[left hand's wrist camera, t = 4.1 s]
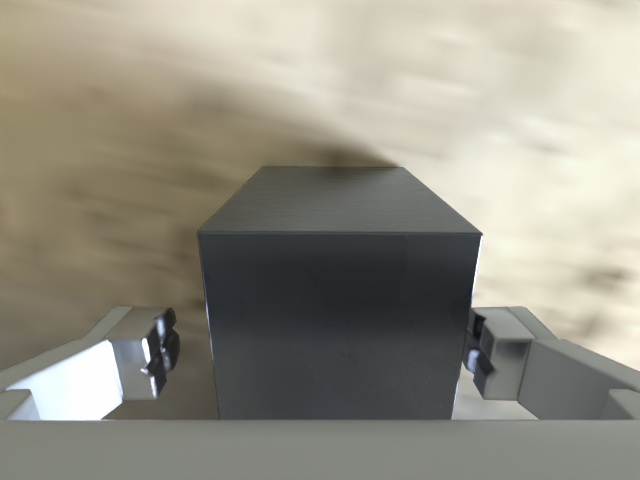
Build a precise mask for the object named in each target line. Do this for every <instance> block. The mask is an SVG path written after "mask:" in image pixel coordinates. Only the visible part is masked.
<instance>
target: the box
mask: <svg viewBox="0 0 640 480" xmlns="http://www.w3.org/2000/svg"><path fill="white" fill-rule="evenodd" d="M197 238H198V246H199V254H200V262H201V271H202V279H203V287H204V295H205V304H206V312H207V320H208V328H209V337H210V345H211V353H212V361H213V370H214V378H215V386H216V394H217V403H218V411H219V419H220V420H452V417H453V411H454V405H455V399H456V393H457V387H458V381H459V376H460V370H461V364H462V358H463V352H464V346H465V340H466V334H467V328H468V322H469V316H470V310H471V304H472V299H473V293H474V287H475V281H476V275H477V269H478V263H479V257H480V251H481V245H482V239H483V234H482V232H480V231H479V230H478V229H477V228H476V227H474V226H473V225H472V224H471V223H470V222H469V221H467V220H466V219H465V218H464V217H463V216H461V215H460V214H459V213H458V212H457V211H455V210H454V209H453V208H452V207H451V206H449V205H448V204H447V203H446V202H445V201H443V200H442V199H441V198H440V197H439V196H437V195H436V194H435V193H434V192H433V191H431V190H430V189H429V188H428V187H427V186H425V185H424V184H423V183H422V182H421V181H419V180H418V179H417V178H416V177H415V176H413V175H412V174H411V173H410V172H409V171H408V170H406V169H405V168H404V167H264V166H263V167H261V168H260V169H259V170H258V171H257V172H256V173H255V174H254V175H253V176H252V177H251V178H250V179H249V180H248V181H247V182H246V183H245V184H244V185H243V186H242V187H241V188H240V189H239V190H238V191H237V192H236V193H235V194H234V195H233V196H232V197H231V198H230V199H229V200H228V201H227V202H226V203H225V204H224V205H223V206H222V207H221V208H220V209H219V210H218V211H217V212H216V213H215V214H214V215H213V216H212V217H211V218H210V219H209V220H208V221H207V222H206V223H205V224H204V225H203V226H202V227H201V228H200V229H199V230H198V231H197Z"/></svg>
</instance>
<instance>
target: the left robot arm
mask: <svg viewBox="0 0 640 480" xmlns="http://www.w3.org/2000/svg"><path fill="white" fill-rule="evenodd" d="M176 322H177V321H176V315H175V311H174V310H173V309H172V307H134V306H126V307H114V308H113V309H112V310H111V311H110V312H109V313H108V314H107V315H106V316H105V317H104V318H103V319H102V320H101V321H100V322H99V323H97V324H96V325H95V326H94V327H93V328H92V329H91V330H90V331H89V332H88V333H87V334H86V335H85V336H84V337H83V338H82V339H80V340H73V341H70V342H68V343H66V344H63V345H61V346H59V347H56V348H54V349H52V350H49V351H47V352H45V353H42V354H40V355H38V356H35V357H33V358H31V359H28V360H26V361H24V362H21V363H19V364H17V365H14V366H12V367H10V368H7V369H5V370H3V371H0V480H640V372H639V371H637V370H635V369H632V368H630V367H628V366H625V365H623V364H621V363H618V362H616V361H614V360H611V359H609V358H607V357H605V356H602V355H600V354H598V353H595V352H593V351H591V350H588V349H586V348H584V347H581V346H579V345H577V344H574V343H572V342H570V341H567V340H560V339H558V338H557V337H556V336H555V335H554V334H553V333H552V332H551V331H550V330H549V329H548V328H547V327H546V326H545V325H544V324H543V323H542V322H541V321H539V320H538V319H537V318H536V317H535V316H534V315H533V314H532V313H531V312H530V311H529V310H528V309H527V308H525V307H522V306H515V307H476V308H471V310H470V316H469V322H468V329H467V334H466V340H465V346H464V352H463V358H462V361H463V363H464V365H465V367H466V369H467V370H468V371H470V372H471V373H473V374H474V379H473V382H474V383H475V385H476V387H477V389H478V391H479V392H480V394H481V396H482V398H483V399H484V400H508V401H518V403H519V404H520V405H522V406H523V407H524V408H526V409H527V410H528V411H529V412H531V413H532V414H533V415H535V416H536V417H537V418H539V419H540V420H100V419H102V418H103V417H104V416H105V415H107V414H108V413H109V412H111V411H112V410H113V409H115V408H116V407H117V406H118V405H120V404H121V403H122V401H132V400H156V399H157V398H158V396H159V394H160V392H161V391H162V389H163V387H164V385H165V383H166V382H167V379H166V374H167V373H169V372H170V371H172V370H173V369H174V367H175V365H176V363H177V361H178V357H179V353H180V340H179V335H178V334H177V333H176V332H175V331H174V330H173V329H172V328H173V326H174V325H175V323H176Z"/></svg>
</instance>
